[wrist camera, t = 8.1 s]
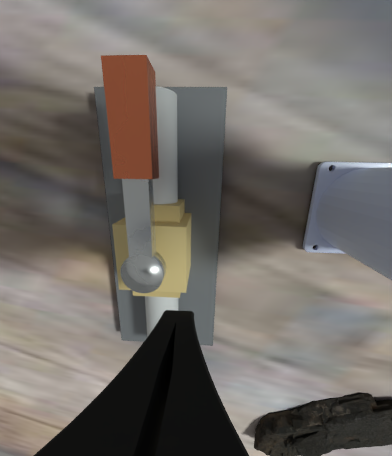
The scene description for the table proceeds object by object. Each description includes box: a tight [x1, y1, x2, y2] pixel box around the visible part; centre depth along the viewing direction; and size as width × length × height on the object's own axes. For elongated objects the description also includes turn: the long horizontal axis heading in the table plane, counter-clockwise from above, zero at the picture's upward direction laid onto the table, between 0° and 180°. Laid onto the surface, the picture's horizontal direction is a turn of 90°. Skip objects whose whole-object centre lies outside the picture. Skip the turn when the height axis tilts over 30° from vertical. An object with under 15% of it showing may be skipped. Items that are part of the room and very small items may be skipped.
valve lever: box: [101, 55, 166, 293], centre depth 11 cm, size 12×3×2 cm, turn 179°
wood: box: [254, 394, 392, 456], centre depth 24 cm, size 22×8×3 cm, turn 105°
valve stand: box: [94, 86, 227, 346], centre depth 16 cm, size 10×24×6 cm, turn 179°
